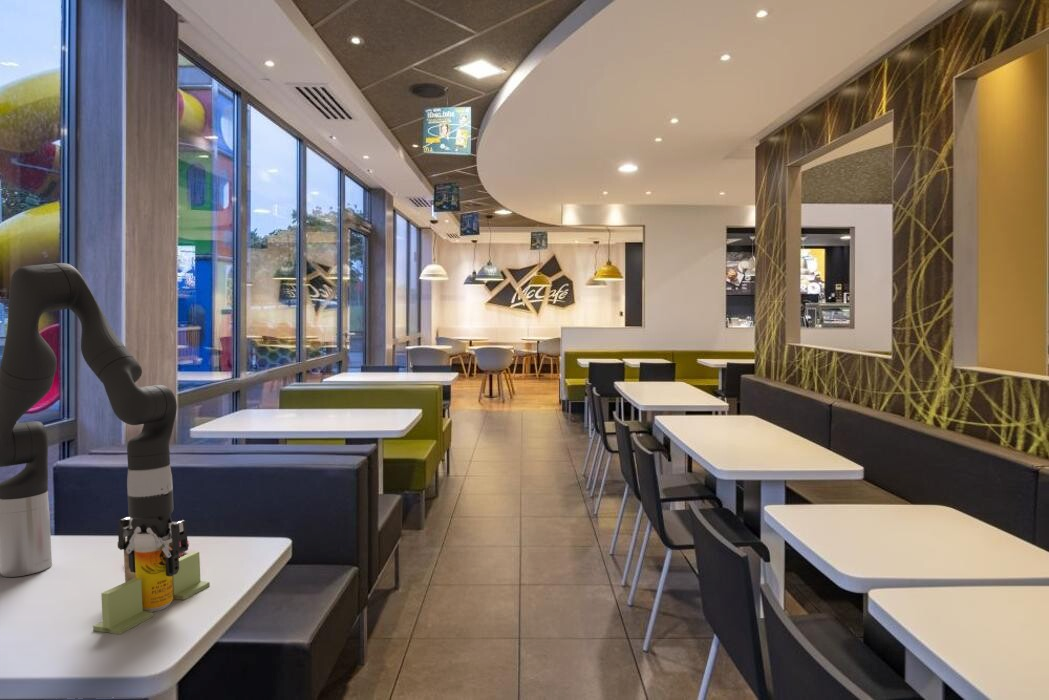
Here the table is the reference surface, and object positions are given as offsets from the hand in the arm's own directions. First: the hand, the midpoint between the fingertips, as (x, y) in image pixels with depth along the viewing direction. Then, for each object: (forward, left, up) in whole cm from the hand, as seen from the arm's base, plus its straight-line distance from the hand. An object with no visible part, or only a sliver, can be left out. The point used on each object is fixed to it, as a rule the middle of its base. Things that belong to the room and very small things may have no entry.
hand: (154, 573), depth 126 cm
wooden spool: (-9, +5, -7) cm, 12 cm away
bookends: (0, 0, -7) cm, 7 cm away
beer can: (0, 0, -7) cm, 7 cm away
